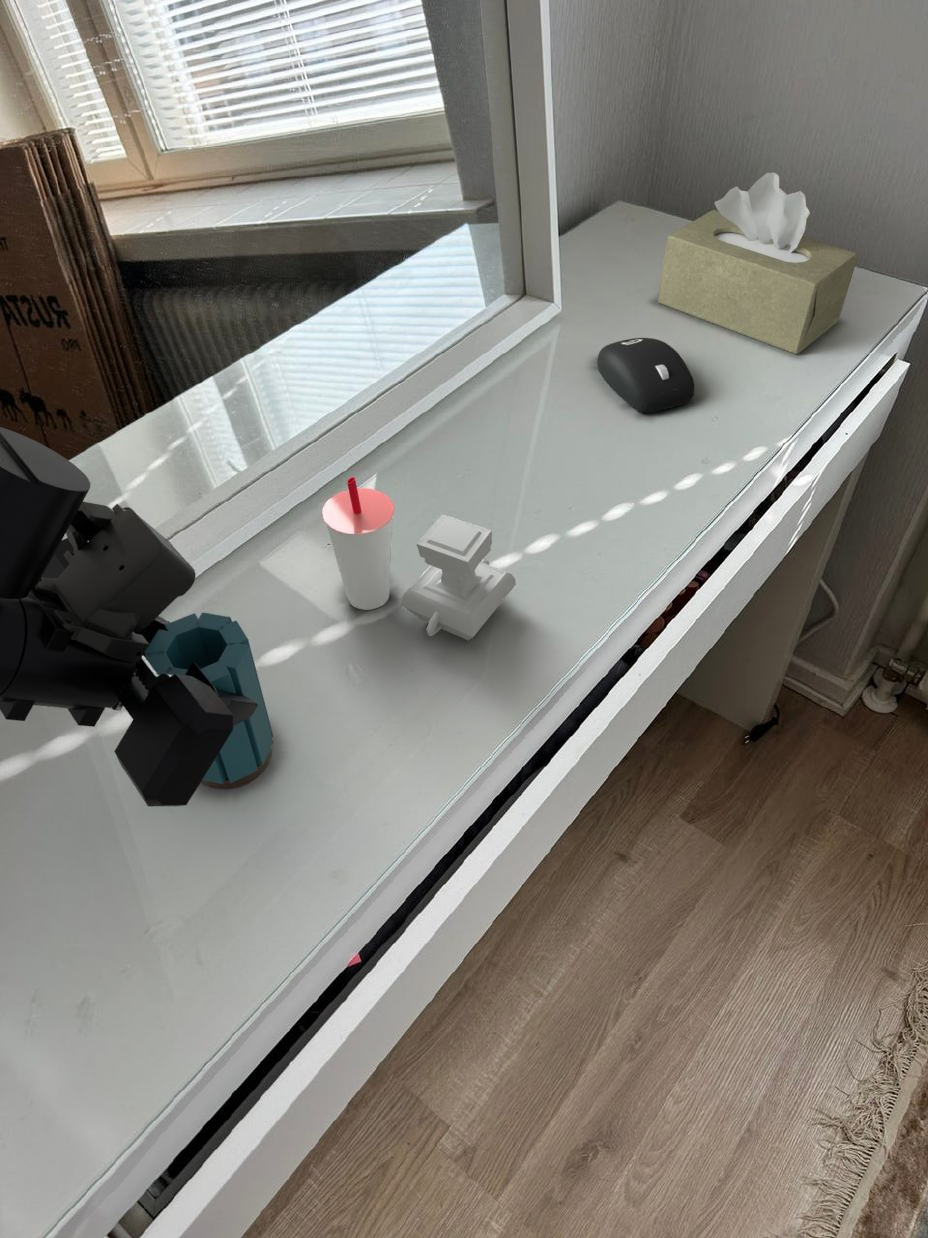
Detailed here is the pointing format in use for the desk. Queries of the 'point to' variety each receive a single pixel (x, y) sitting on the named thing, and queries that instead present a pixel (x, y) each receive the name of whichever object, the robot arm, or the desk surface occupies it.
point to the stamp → (456, 579)
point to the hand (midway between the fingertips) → (229, 679)
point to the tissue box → (757, 268)
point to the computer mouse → (646, 374)
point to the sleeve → (219, 683)
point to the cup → (362, 543)
